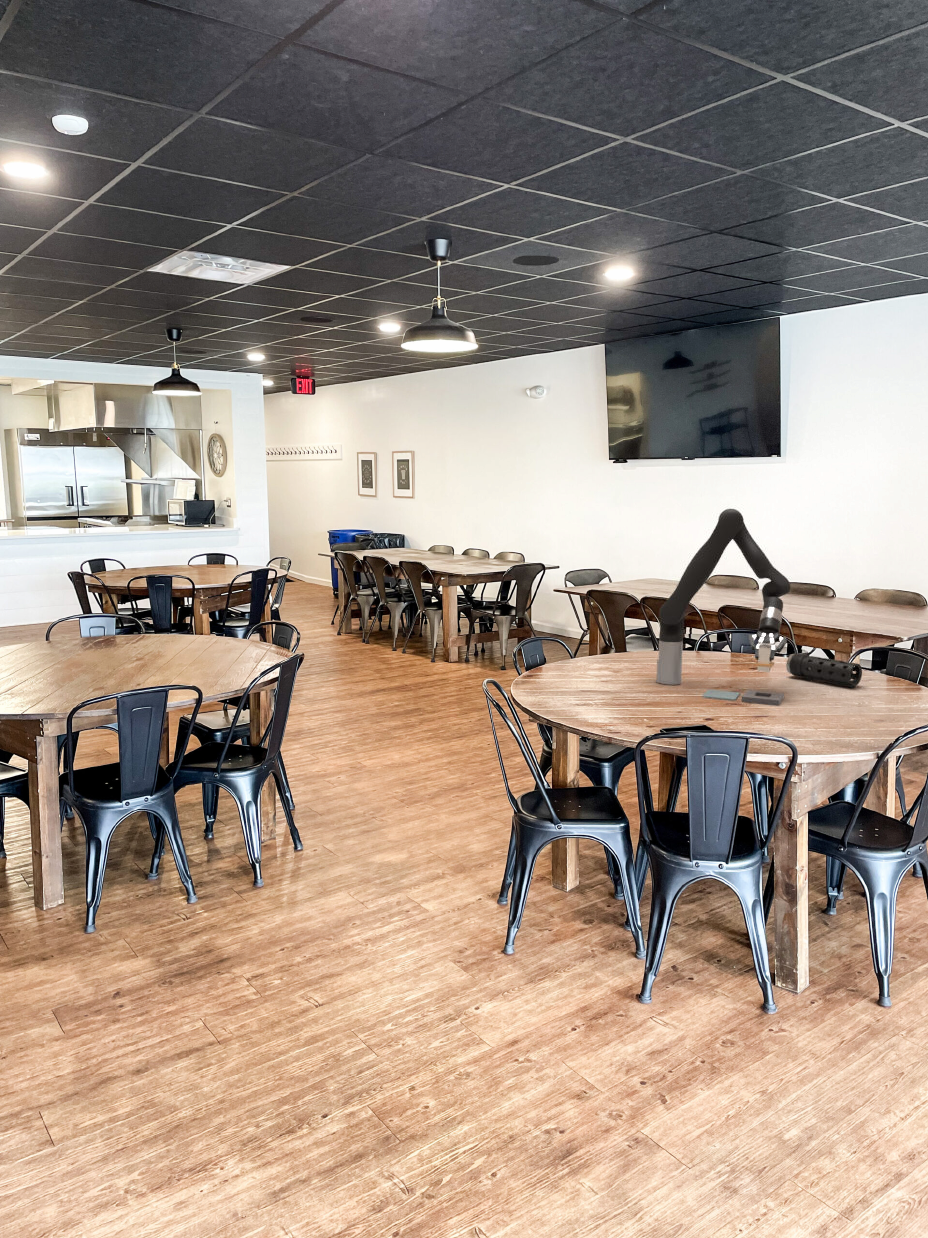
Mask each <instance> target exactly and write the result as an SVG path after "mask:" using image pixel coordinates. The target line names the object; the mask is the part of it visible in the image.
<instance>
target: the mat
mask: <svg viewBox="0 0 928 1238" xmlns="http://www.w3.org/2000/svg"><path fill="white" fill-rule="evenodd" d="M740 695H741V692H737V691H727V690H719V689H718V690H716V689H709V688H708V689H707V690H706V692H704V694H702V695H701V698H702V697H705V698H704V699H711V698H713V699H714V700H722V701H732V702H735V701H737V699H738V698H739V697H740Z"/></svg>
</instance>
